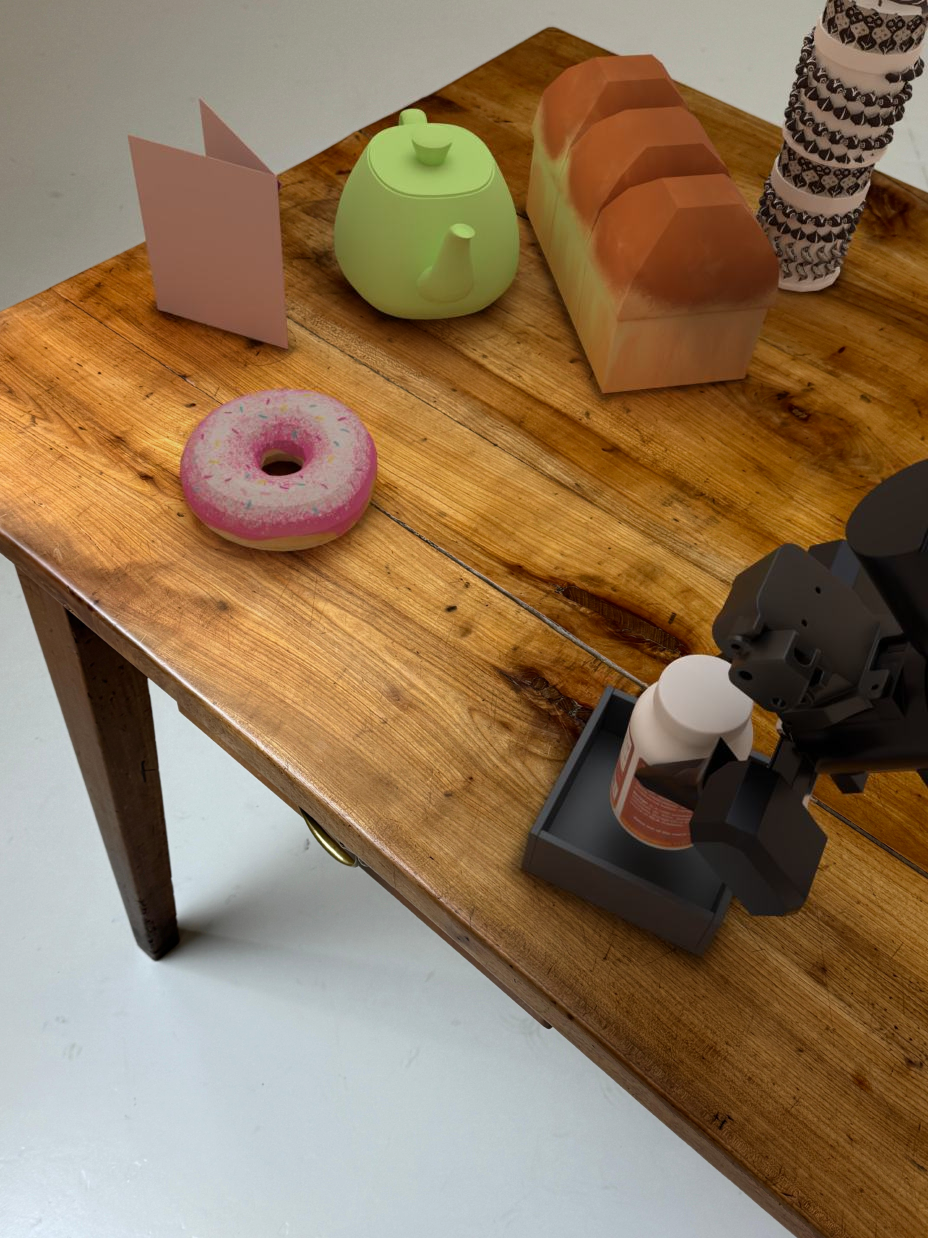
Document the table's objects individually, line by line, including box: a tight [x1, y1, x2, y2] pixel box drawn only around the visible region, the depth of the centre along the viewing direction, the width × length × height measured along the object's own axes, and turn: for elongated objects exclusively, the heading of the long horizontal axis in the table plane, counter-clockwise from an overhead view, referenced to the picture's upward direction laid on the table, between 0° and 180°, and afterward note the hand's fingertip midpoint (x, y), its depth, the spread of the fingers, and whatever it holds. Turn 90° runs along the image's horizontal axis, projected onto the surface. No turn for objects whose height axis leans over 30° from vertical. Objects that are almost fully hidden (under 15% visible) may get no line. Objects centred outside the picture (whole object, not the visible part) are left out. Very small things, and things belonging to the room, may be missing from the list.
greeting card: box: [127, 96, 289, 350], centre depth 87 cm, size 11×7×15 cm, turn 35°
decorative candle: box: [754, 0, 928, 293], centre depth 93 cm, size 9×9×25 cm
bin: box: [520, 684, 772, 958], centre depth 67 cm, size 11×11×4 cm
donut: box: [179, 388, 378, 552], centre depth 81 cm, size 14×13×5 cm
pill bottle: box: [610, 654, 755, 850], centre depth 61 cm, size 6×6×11 cm
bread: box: [525, 53, 780, 394], centre depth 93 cm, size 25×12×15 cm, turn 13°
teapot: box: [333, 108, 521, 320], centre depth 92 cm, size 22×15×13 cm
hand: (662, 729), depth 61 cm, fingers closed on pill bottle, 6 cm apart
